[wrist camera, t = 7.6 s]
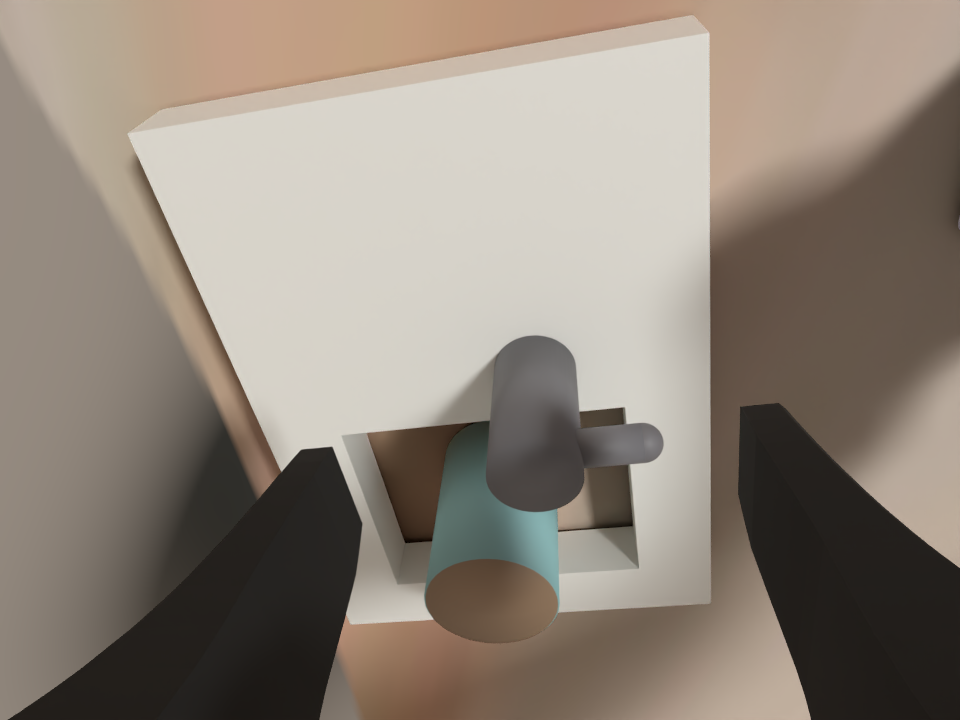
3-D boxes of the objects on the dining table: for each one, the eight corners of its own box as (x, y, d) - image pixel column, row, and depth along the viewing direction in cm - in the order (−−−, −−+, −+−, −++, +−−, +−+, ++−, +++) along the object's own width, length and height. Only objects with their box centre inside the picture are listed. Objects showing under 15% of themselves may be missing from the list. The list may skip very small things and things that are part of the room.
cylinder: (549, 414, 25) (550, 554, 20) (561, 496, 27) (566, 641, 22) (434, 425, 26) (410, 563, 21) (457, 504, 28) (439, 647, 23)
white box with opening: (693, 14, 18) (760, 89, 12) (701, 560, 29) (738, 722, 24) (161, 109, 20) (23, 207, 14) (360, 583, 31) (324, 736, 26)
